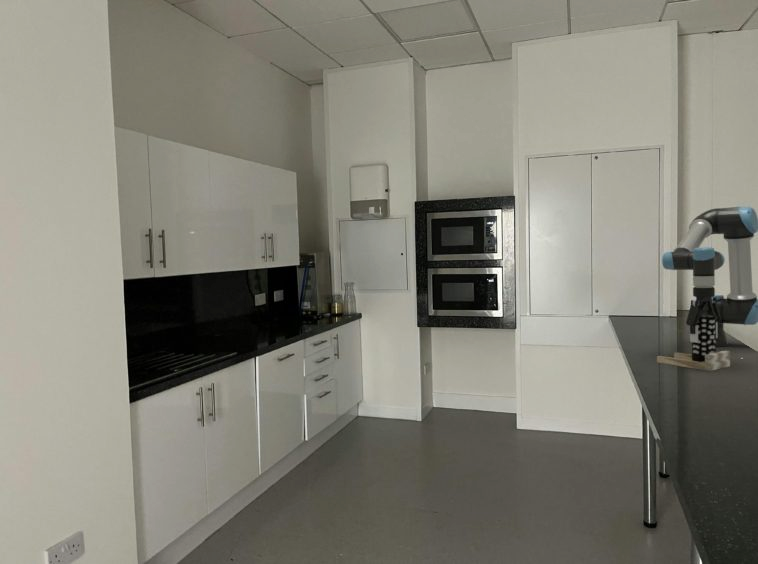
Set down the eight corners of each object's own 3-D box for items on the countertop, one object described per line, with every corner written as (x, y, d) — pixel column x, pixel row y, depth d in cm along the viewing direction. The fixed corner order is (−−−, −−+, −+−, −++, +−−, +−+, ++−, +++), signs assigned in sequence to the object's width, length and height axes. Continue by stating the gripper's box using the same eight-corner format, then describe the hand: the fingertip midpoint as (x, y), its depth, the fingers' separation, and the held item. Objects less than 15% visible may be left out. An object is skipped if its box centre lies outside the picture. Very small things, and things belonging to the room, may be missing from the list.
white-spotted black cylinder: (691, 367, 234) (691, 316, 233) (691, 363, 241) (691, 314, 240) (716, 368, 230) (716, 317, 229) (715, 364, 237) (715, 315, 236)
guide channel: (677, 358, 252) (677, 344, 252) (730, 366, 234) (730, 351, 233) (657, 362, 245) (656, 348, 245) (710, 371, 226) (710, 355, 226)
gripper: (712, 283, 243) (712, 335, 245) (675, 288, 231) (676, 342, 232) (730, 284, 237) (730, 337, 239) (694, 289, 224) (695, 345, 226)
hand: (704, 340), depth 235 cm, fingers open, 13 cm apart
